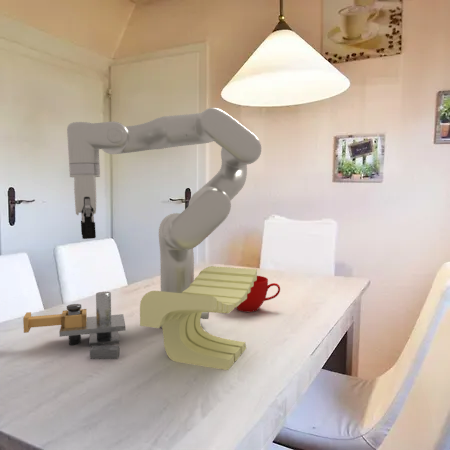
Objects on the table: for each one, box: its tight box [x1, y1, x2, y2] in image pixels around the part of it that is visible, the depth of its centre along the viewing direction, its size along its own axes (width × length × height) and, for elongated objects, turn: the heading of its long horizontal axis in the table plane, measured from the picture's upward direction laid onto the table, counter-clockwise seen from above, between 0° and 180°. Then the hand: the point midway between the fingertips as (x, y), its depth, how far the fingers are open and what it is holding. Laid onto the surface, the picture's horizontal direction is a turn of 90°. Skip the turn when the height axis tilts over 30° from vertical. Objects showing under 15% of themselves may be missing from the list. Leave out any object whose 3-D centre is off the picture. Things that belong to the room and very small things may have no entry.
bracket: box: [22, 308, 88, 334], centre depth 97 cm, size 14×6×4 cm, turn 108°
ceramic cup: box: [236, 275, 281, 313], centre depth 129 cm, size 13×17×10 cm
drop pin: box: [66, 303, 82, 346], centre depth 99 cm, size 3×3×9 cm
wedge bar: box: [89, 344, 121, 360], centre depth 90 cm, size 6×3×2 cm, turn 92°
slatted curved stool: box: [139, 265, 258, 371], centre depth 92 cm, size 30×16×18 cm, turn 160°
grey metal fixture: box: [58, 291, 126, 347], centre depth 100 cm, size 15×10×12 cm, turn 108°
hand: (88, 236), depth 105 cm, fingers open, 9 cm apart
